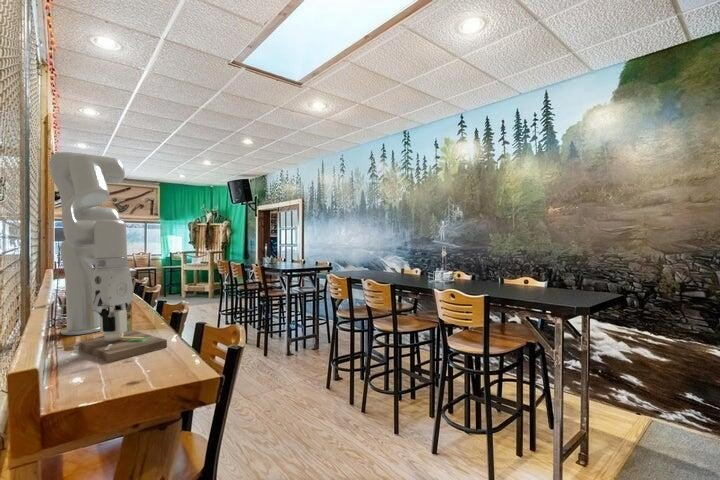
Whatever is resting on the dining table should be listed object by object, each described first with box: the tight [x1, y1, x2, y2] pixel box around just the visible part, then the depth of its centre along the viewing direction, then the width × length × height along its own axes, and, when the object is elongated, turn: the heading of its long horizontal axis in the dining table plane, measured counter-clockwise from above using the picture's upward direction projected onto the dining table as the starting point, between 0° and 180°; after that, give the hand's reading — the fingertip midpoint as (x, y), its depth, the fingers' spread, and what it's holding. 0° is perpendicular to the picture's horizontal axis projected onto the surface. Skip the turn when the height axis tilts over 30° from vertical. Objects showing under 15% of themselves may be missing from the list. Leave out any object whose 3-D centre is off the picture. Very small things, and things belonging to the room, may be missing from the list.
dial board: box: [78, 330, 168, 363], centre depth 100 cm, size 20×14×2 cm
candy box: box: [118, 301, 133, 333], centre depth 116 cm, size 9×4×15 cm, turn 39°
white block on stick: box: [99, 309, 145, 342], centre depth 100 cm, size 13×4×8 cm, turn 79°
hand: (114, 329), depth 101 cm, fingers closed on white block on stick, 2 cm apart
